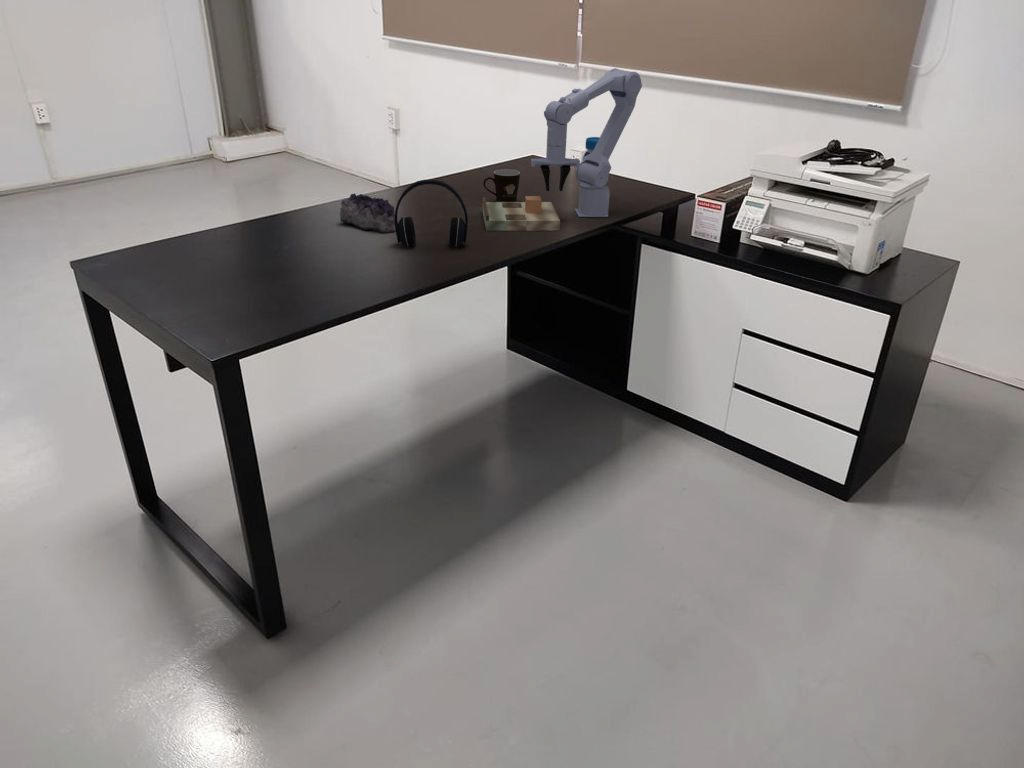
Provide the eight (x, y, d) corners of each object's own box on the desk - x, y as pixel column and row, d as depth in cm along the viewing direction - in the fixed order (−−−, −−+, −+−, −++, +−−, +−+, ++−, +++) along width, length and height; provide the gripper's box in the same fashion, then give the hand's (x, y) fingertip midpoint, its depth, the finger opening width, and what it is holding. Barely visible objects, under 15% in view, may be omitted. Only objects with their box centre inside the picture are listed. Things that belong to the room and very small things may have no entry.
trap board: (550, 211, 248) (551, 197, 246) (559, 230, 230) (560, 215, 228) (482, 211, 246) (482, 197, 244) (486, 230, 228) (486, 215, 226)
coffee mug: (520, 200, 259) (521, 170, 254) (518, 207, 251) (518, 176, 246) (486, 198, 259) (486, 168, 255) (482, 205, 252) (482, 174, 247)
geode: (411, 227, 230) (407, 195, 224) (384, 242, 223) (379, 209, 217) (362, 212, 240) (357, 181, 234) (335, 225, 232) (329, 194, 227)
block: (539, 208, 239) (539, 196, 237) (541, 213, 235) (541, 200, 233) (524, 209, 239) (525, 196, 237) (526, 213, 235) (526, 200, 233)
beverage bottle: (604, 196, 265) (609, 136, 255) (604, 203, 257) (609, 142, 248) (579, 195, 266) (583, 135, 256) (578, 202, 258) (583, 140, 248)
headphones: (395, 249, 212) (391, 183, 203) (397, 241, 218) (393, 176, 209) (467, 250, 213) (467, 183, 204) (467, 241, 219) (467, 177, 210)
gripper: (578, 141, 232) (575, 186, 239) (530, 141, 231) (529, 186, 237) (582, 146, 226) (579, 192, 233) (533, 146, 225) (531, 192, 231)
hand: (554, 190), depth 235 cm, fingers open, 3 cm apart
